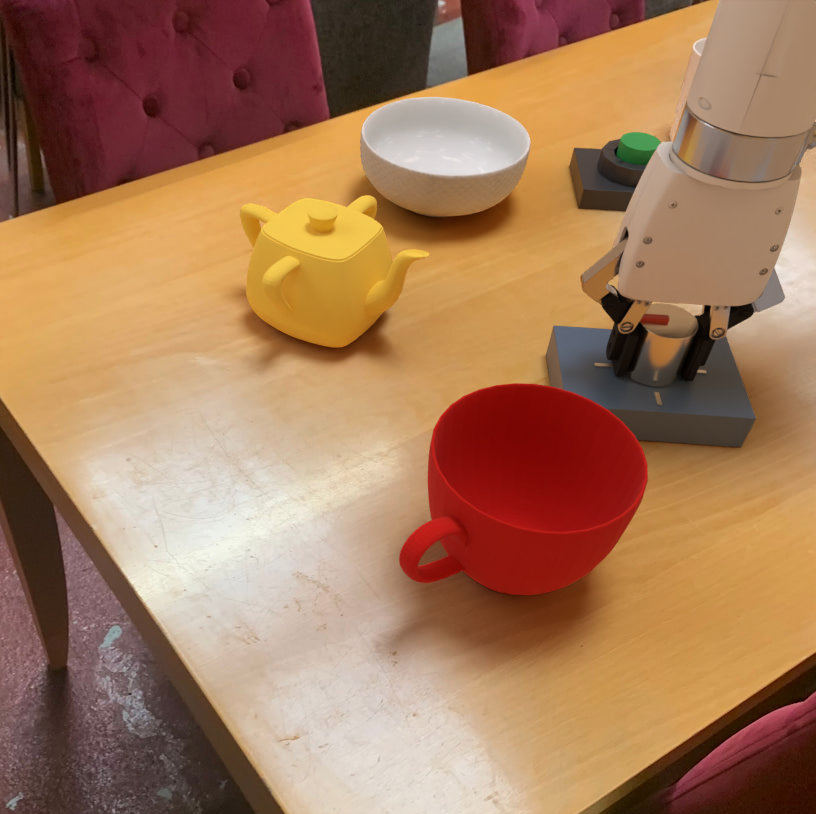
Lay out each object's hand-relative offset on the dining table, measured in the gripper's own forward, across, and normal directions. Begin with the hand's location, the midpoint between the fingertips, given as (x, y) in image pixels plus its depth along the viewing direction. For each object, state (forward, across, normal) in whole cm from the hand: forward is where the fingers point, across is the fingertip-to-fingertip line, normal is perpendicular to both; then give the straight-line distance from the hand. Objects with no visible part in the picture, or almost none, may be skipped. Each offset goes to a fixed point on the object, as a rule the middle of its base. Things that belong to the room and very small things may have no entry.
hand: (651, 365), depth 70 cm
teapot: (+4, +26, -8) cm, 27 cm away
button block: (+3, -4, -34) cm, 34 cm away
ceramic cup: (+4, +13, +19) cm, 23 cm away
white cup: (+4, -14, -46) cm, 48 cm away
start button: (0, -4, -34) cm, 34 cm away
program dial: (0, 0, 0) cm, 0 cm away
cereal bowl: (+4, +16, -30) cm, 34 cm away
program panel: (+3, 0, 0) cm, 3 cm away
